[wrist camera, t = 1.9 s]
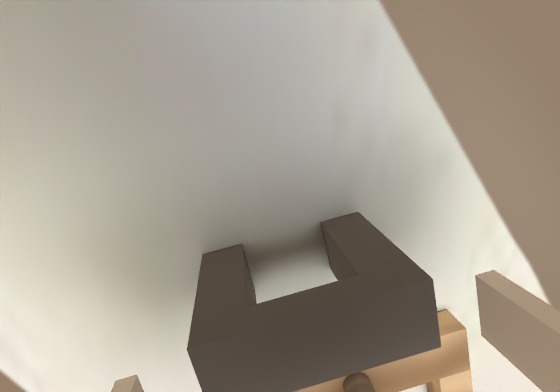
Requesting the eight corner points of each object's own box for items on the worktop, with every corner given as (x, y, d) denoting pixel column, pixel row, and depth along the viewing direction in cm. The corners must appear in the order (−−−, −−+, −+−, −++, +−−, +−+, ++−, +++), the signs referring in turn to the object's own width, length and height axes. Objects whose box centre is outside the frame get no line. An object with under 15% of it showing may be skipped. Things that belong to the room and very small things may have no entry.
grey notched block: (217, 300, 21) (211, 416, 14) (202, 254, 20) (187, 350, 13) (366, 258, 22) (441, 347, 14) (358, 212, 21) (432, 279, 13)
